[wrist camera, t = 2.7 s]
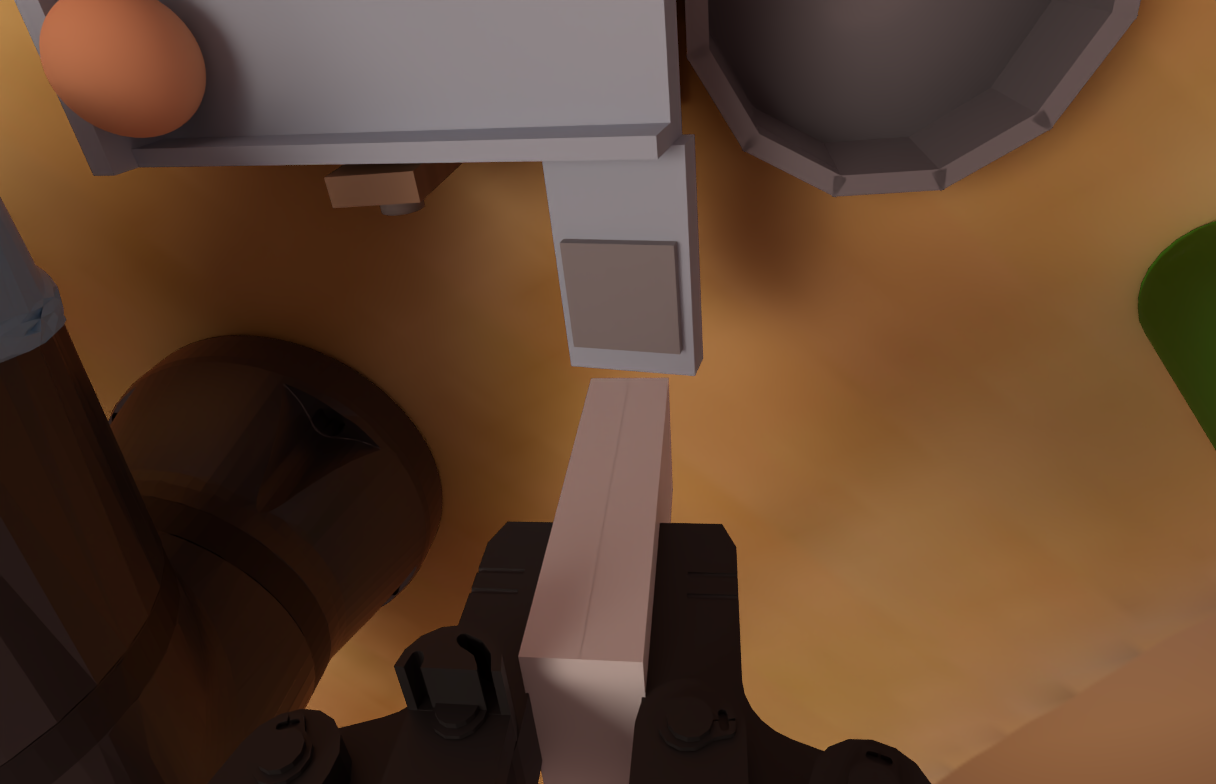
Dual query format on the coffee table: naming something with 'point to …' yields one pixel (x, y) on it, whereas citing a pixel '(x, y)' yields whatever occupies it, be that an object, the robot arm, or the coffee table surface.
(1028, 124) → the dish
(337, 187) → the fulcrum
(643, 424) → the robot arm
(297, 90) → the grey slab
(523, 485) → the coffee table surface
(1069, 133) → the coffee table surface
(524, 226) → the coffee table surface
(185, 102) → the ball
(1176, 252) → the cup
